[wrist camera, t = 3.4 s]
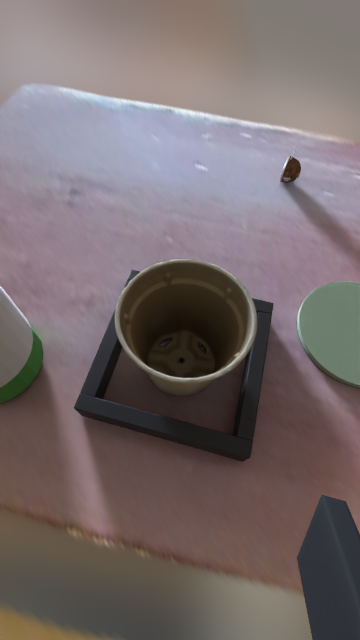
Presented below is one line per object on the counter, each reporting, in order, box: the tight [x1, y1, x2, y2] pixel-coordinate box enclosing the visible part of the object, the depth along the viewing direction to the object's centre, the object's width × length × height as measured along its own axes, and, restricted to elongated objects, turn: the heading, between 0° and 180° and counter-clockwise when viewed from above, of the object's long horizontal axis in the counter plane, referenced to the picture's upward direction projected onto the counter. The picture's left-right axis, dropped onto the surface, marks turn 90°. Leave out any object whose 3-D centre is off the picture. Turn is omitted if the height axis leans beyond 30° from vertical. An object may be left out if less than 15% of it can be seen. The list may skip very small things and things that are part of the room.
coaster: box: [297, 282, 360, 388], centre depth 31 cm, size 11×11×1 cm
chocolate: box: [280, 146, 301, 183], centre depth 40 cm, size 3×2×4 cm
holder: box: [74, 270, 273, 461], centre depth 29 cm, size 13×13×2 cm
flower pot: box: [115, 259, 257, 396], centre depth 26 cm, size 9×9×9 cm
